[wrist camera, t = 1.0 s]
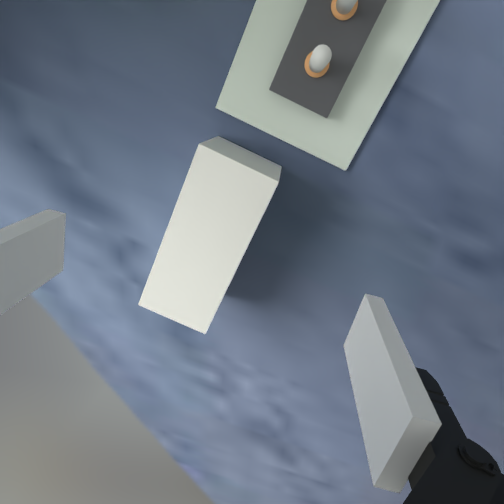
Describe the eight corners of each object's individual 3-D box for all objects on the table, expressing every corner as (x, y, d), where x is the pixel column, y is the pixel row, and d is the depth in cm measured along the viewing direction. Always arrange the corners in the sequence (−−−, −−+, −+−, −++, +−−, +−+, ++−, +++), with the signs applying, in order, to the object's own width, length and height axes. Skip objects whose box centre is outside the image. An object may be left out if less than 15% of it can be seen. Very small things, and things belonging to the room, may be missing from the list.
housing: (220, 294, 37) (205, 334, 30) (165, 269, 36) (138, 304, 30) (281, 166, 32) (279, 181, 25) (218, 135, 31) (198, 143, 25)
